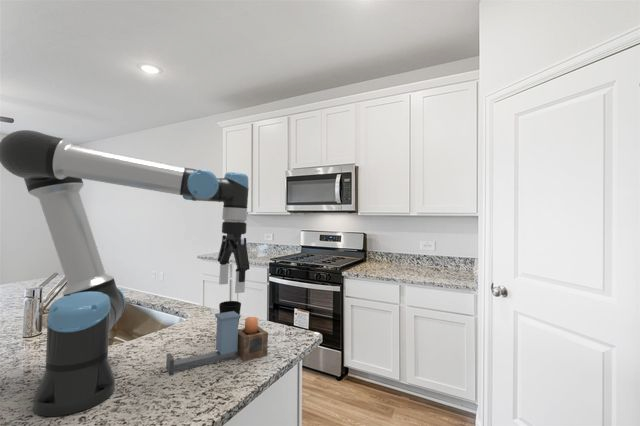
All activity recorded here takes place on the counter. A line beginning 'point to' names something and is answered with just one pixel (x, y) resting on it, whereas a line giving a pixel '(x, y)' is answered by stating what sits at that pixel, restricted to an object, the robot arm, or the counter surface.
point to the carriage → (227, 332)
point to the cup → (230, 307)
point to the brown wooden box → (252, 344)
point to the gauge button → (251, 325)
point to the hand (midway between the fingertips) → (231, 288)
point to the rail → (196, 361)
